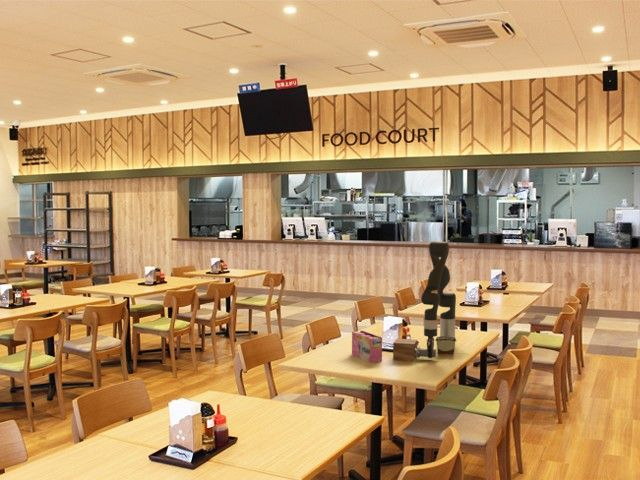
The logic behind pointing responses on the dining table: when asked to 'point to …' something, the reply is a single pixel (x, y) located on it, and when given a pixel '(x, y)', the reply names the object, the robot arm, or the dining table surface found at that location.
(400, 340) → the housing
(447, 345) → the food container
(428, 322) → the robot arm
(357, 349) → the gum box
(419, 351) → the grey capped rod
